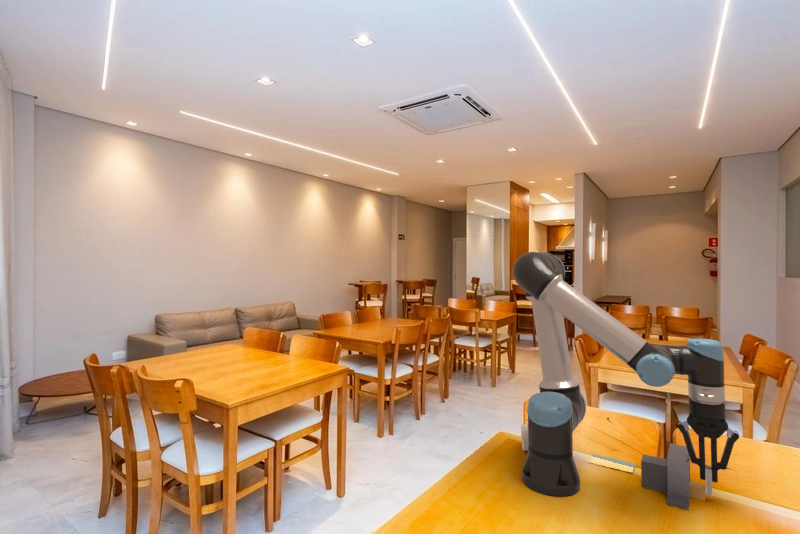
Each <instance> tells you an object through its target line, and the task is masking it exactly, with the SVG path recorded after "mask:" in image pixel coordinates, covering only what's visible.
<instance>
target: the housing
mask: <svg viewBox="0 0 800 534" xmlns="http://www.w3.org/2000/svg"><path fill="white" fill-rule="evenodd" d="M666 459H667V473H668V493H667V498H666V505H668V506H672V507H674V508H675V507H676V508H679V509H682V510H686V511H689V510H690V497H689V481H690V482H692V481H691V460H690V456H689V453H688V450H687V447H686V445H680V444H677V443H676V444H675V443H671V442H670V443H669V448H668V451H667V458H666Z"/></svg>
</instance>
